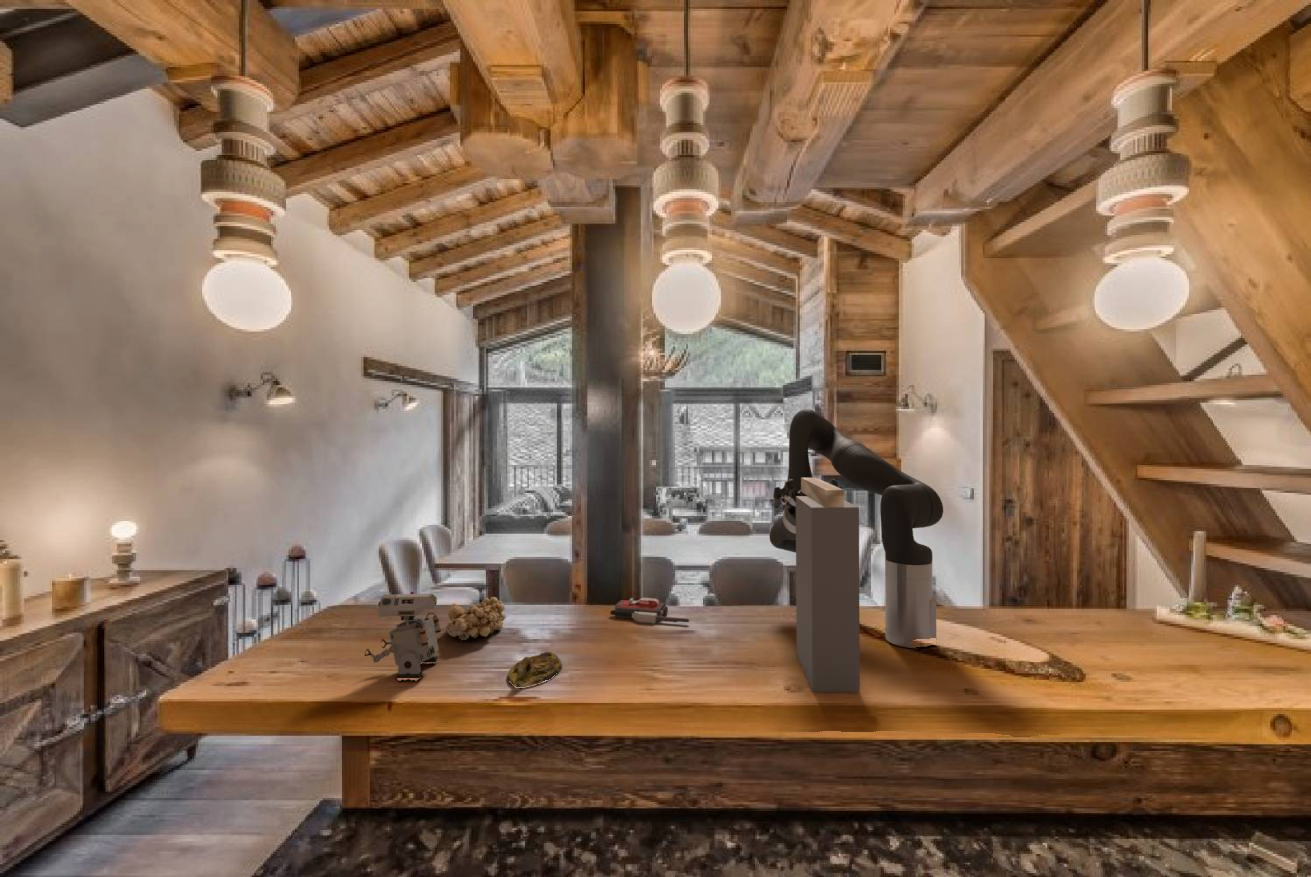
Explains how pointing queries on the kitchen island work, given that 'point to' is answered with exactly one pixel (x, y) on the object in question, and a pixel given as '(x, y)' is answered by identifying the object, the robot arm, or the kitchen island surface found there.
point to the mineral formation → (476, 619)
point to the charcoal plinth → (828, 595)
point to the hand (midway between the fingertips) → (812, 483)
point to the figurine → (410, 632)
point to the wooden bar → (823, 492)
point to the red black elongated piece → (644, 611)
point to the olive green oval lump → (534, 669)
